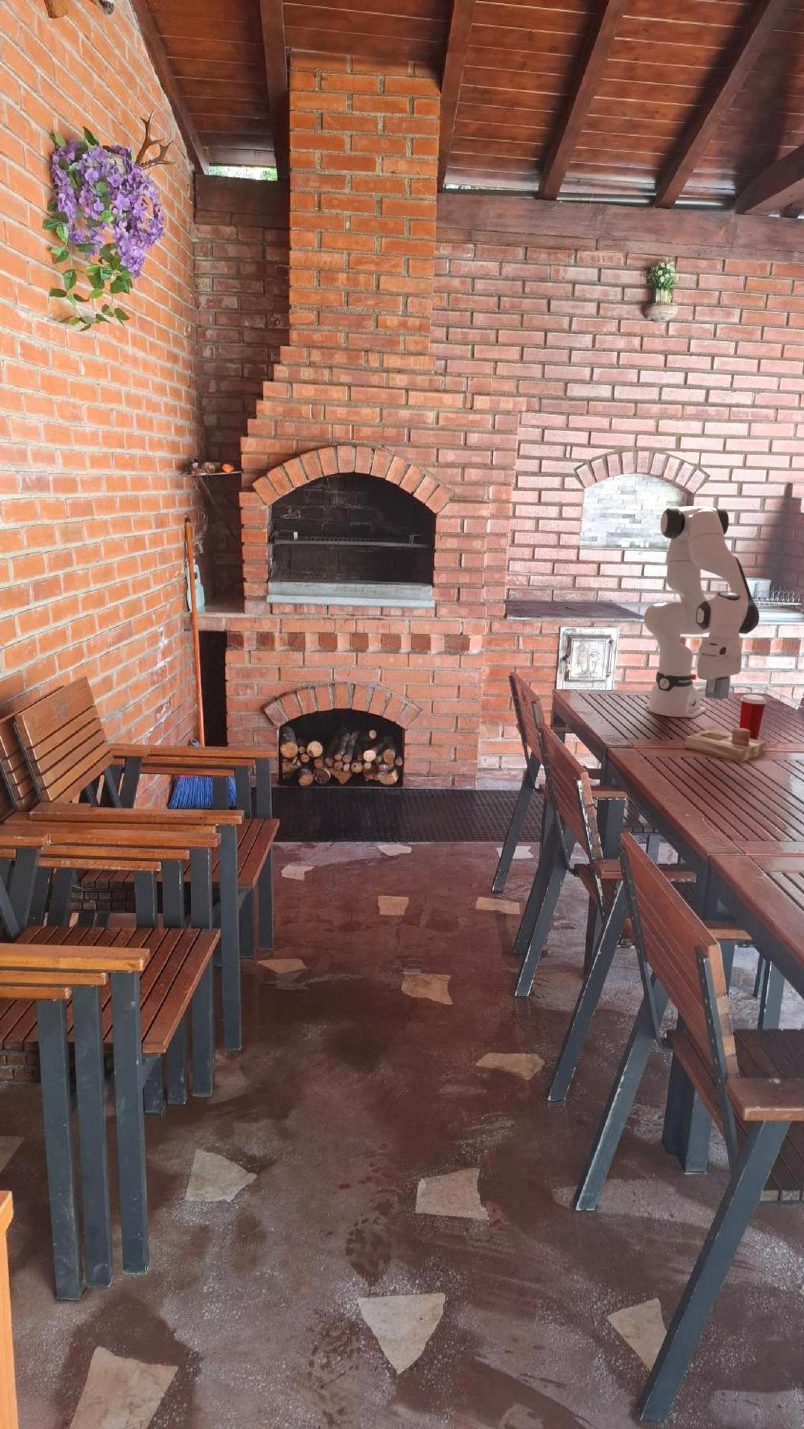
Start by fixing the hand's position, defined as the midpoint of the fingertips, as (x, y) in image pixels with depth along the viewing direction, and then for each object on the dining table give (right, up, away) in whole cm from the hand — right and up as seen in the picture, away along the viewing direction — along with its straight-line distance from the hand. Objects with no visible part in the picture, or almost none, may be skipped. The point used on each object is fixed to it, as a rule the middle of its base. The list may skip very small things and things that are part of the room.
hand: (717, 691), depth 279 cm
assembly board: (+3, -18, +1) cm, 18 cm away
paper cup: (+15, -15, +15) cm, 26 cm away
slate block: (0, -2, 0) cm, 2 cm away
